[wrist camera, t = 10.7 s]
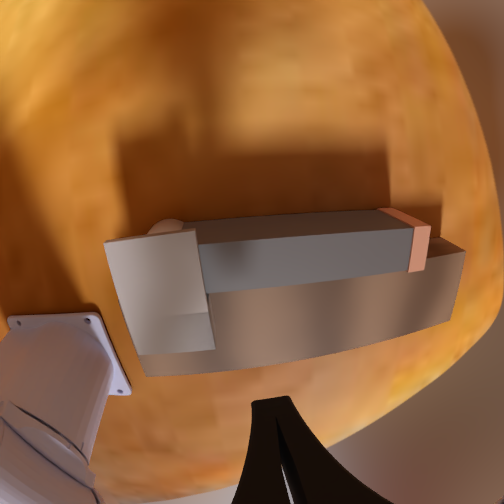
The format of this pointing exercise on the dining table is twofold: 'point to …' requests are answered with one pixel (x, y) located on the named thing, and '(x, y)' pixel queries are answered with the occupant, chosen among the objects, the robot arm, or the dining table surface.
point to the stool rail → (265, 308)
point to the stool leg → (304, 247)
